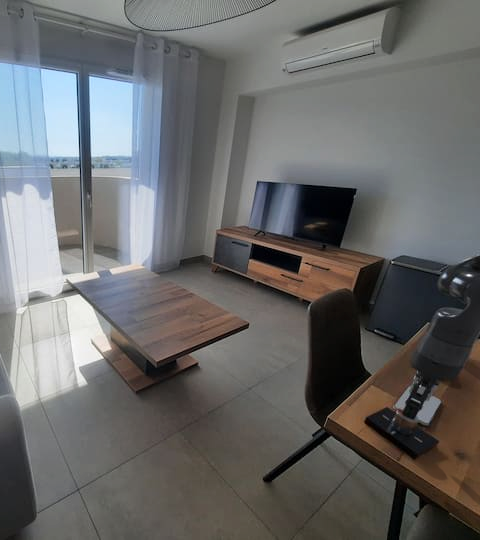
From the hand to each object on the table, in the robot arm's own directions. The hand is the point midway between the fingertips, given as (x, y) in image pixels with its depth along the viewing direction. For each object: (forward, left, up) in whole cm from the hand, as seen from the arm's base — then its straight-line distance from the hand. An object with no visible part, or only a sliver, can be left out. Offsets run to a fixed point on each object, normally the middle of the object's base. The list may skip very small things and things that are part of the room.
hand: (412, 407), depth 70 cm
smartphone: (+4, -16, -10) cm, 19 cm away
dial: (0, 0, -7) cm, 7 cm away
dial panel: (0, 0, -9) cm, 9 cm away
